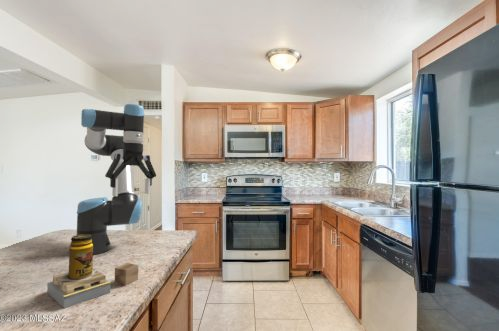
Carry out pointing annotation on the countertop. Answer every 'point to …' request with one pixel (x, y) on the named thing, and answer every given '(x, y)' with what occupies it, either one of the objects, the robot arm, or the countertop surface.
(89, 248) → the condiment
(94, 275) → the pallet
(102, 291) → the dock
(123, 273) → the brown cube
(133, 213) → the robot arm
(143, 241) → the countertop surface
